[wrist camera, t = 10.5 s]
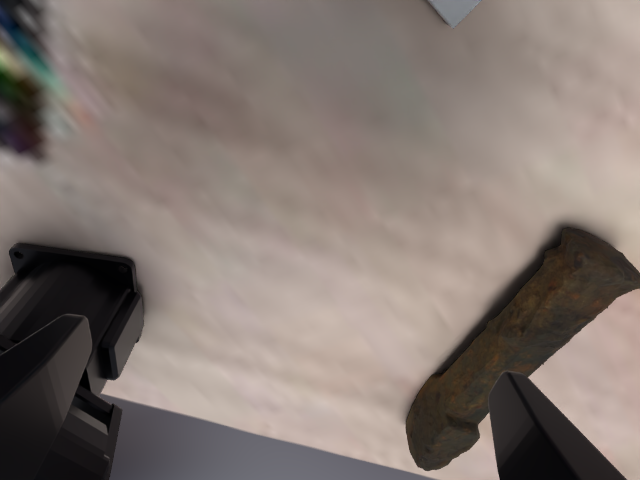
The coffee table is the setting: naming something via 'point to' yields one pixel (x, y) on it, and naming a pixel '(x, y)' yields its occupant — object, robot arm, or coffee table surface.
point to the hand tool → (517, 343)
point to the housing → (453, 9)
